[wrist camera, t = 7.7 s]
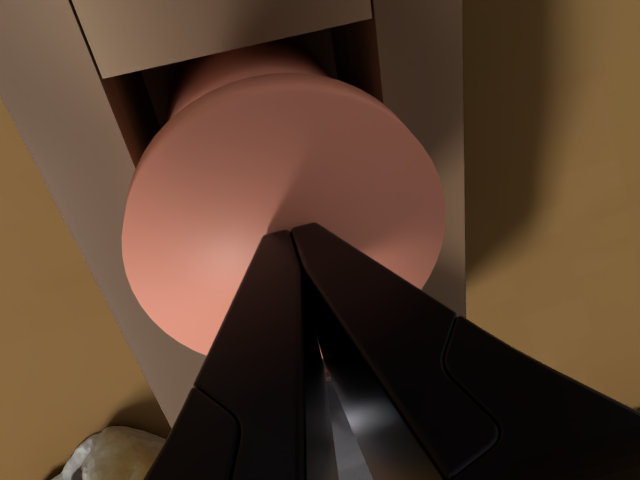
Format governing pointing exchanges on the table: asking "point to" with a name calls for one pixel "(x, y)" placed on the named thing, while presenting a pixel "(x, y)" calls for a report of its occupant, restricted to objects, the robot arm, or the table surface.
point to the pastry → (113, 455)
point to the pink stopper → (269, 182)
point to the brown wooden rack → (151, 113)
